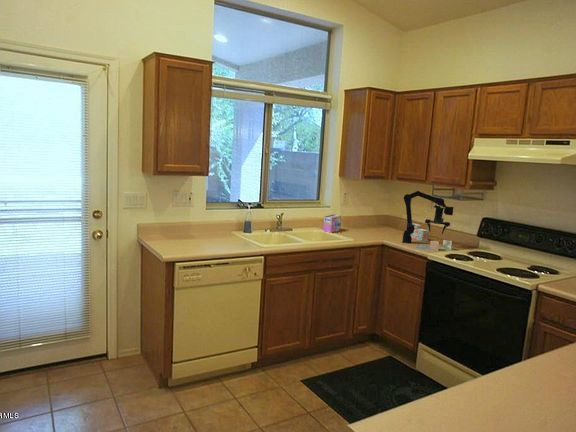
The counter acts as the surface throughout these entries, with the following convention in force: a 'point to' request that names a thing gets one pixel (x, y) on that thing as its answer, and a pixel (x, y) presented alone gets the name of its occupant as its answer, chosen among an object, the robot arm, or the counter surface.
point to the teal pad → (447, 249)
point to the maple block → (447, 244)
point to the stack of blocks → (420, 233)
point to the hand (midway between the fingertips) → (436, 233)
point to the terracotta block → (434, 245)
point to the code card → (424, 247)
